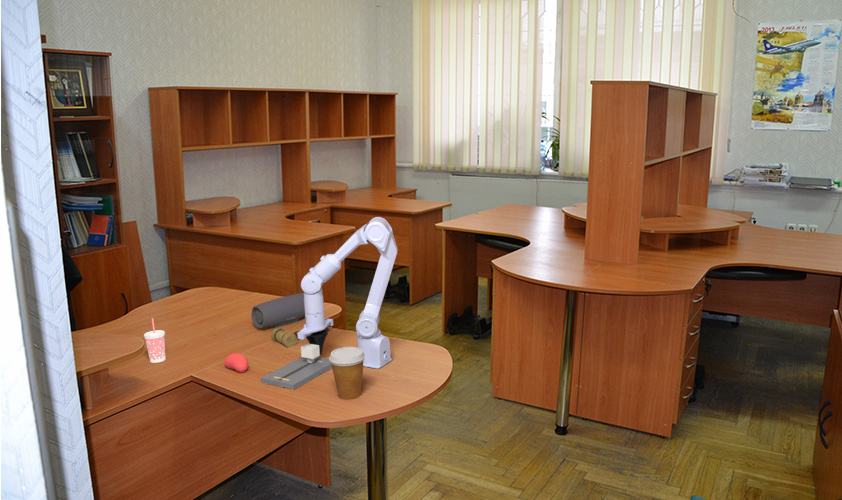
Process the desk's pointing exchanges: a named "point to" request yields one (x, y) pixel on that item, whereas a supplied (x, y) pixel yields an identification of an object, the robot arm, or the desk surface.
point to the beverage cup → (155, 344)
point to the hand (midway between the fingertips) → (317, 354)
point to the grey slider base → (297, 372)
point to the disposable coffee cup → (348, 371)
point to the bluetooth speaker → (279, 311)
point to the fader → (310, 352)
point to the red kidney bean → (236, 362)
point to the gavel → (287, 336)
